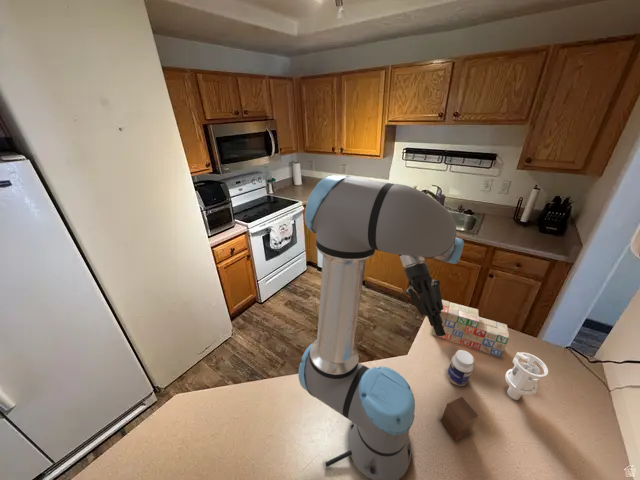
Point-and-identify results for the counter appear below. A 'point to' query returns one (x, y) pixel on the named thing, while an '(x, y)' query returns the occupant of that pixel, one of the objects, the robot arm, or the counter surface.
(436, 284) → the robot arm
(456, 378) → the pill bottle
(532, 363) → the strainer
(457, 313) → the stack of blocks
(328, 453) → the counter surface
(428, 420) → the counter surface
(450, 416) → the walnut block
